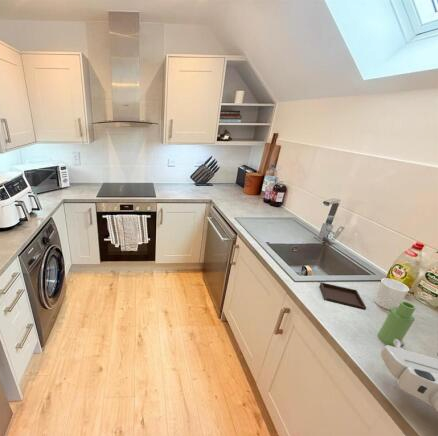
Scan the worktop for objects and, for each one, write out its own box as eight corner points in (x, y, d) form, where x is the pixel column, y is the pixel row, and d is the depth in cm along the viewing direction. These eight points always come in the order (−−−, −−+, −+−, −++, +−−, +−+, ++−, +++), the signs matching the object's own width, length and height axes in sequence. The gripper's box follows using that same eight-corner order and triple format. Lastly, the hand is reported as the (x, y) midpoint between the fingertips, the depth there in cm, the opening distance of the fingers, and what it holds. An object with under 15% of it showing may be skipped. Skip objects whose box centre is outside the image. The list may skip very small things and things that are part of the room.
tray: (354, 294, 102) (356, 290, 101) (364, 312, 93) (366, 307, 92) (319, 286, 107) (320, 282, 106) (325, 302, 97) (326, 298, 96)
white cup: (367, 297, 100) (376, 277, 96) (386, 297, 100) (396, 278, 96) (383, 311, 93) (393, 291, 89) (403, 311, 93) (415, 291, 89)
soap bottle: (392, 339, 81) (414, 301, 74) (399, 352, 77) (424, 313, 70) (373, 334, 83) (393, 297, 76) (379, 346, 79) (401, 308, 72)
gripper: (528, 407, 50) (477, 352, 62) (402, 369, 57) (378, 327, 69) (509, 424, 52) (464, 368, 64) (391, 385, 60) (369, 342, 72)
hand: (418, 346), depth 67 cm, fingers open, 8 cm apart
